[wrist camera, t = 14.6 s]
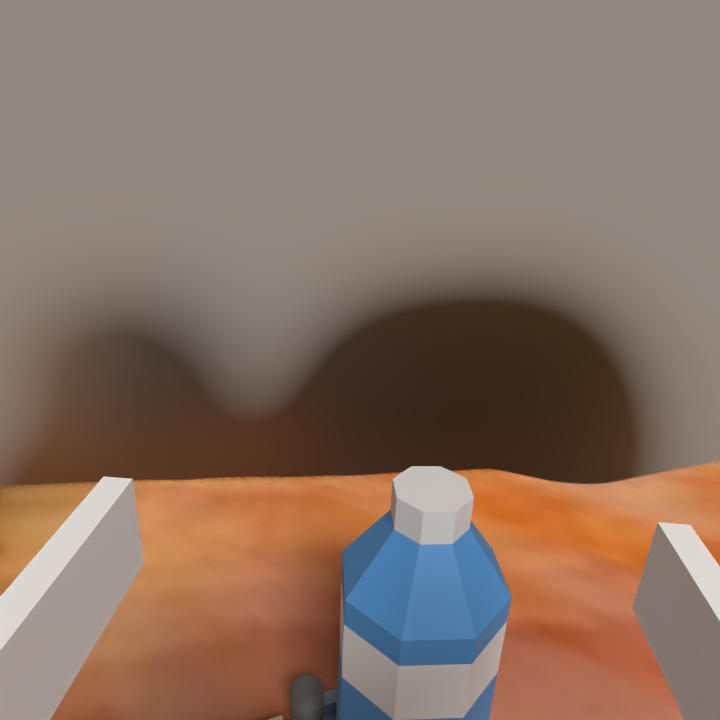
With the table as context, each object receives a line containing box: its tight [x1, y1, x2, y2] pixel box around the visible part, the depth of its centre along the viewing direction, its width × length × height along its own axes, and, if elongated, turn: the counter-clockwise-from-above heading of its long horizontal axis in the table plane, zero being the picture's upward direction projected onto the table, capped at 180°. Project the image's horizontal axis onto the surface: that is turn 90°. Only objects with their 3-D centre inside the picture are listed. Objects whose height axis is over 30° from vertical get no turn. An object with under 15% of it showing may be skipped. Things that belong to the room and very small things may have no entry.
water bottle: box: [336, 466, 512, 720], centre depth 34 cm, size 9×9×25 cm
